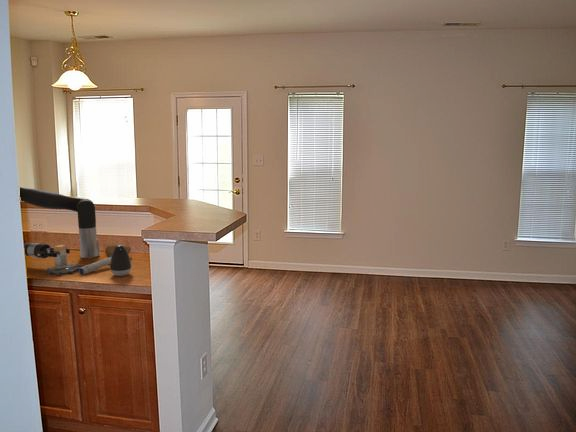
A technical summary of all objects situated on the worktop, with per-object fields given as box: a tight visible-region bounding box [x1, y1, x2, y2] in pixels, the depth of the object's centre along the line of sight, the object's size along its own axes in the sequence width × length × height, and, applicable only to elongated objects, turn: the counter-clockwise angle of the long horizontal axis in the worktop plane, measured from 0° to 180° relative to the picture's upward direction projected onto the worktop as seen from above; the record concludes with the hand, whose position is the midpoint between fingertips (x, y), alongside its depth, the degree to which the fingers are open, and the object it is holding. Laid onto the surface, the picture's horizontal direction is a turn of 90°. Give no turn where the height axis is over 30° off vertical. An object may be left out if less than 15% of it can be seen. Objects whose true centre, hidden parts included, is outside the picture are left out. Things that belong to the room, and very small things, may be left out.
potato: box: [105, 243, 132, 258], centre depth 272 cm, size 9×16×9 cm, turn 144°
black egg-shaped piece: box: [109, 245, 132, 277], centre depth 241 cm, size 10×10×15 cm
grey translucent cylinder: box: [53, 244, 68, 268], centre depth 250 cm, size 4×4×11 cm
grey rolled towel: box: [78, 257, 111, 276], centre depth 252 cm, size 5×7×25 cm
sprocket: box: [46, 263, 82, 277], centre depth 249 cm, size 17×17×2 cm
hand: (63, 253), depth 249 cm, fingers open, 8 cm apart
